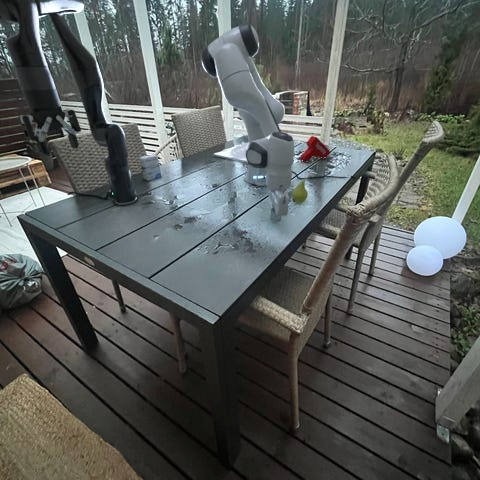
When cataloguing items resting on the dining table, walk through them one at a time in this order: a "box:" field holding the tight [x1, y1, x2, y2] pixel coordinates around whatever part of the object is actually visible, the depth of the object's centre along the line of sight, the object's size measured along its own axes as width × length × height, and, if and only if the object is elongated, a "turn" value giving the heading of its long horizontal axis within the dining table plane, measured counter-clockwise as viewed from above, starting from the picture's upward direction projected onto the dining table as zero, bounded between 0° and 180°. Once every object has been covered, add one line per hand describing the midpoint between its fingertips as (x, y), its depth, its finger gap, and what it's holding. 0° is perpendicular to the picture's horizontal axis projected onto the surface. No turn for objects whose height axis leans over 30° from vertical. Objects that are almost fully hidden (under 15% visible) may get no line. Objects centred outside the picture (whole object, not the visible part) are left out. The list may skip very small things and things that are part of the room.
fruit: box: [291, 174, 311, 204], centre depth 118 cm, size 7×8×12 cm
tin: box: [269, 207, 282, 223], centre depth 104 cm, size 4×4×4 cm
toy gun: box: [300, 135, 332, 164], centre depth 172 cm, size 18×4×15 cm
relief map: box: [213, 141, 248, 164], centre depth 184 cm, size 27×35×5 cm
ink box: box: [138, 154, 162, 182], centre depth 145 cm, size 8×5×12 cm, turn 135°
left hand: (61, 151), depth 78 cm, fingers open, 8 cm apart
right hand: (275, 215), depth 104 cm, fingers closed on tin, 4 cm apart
